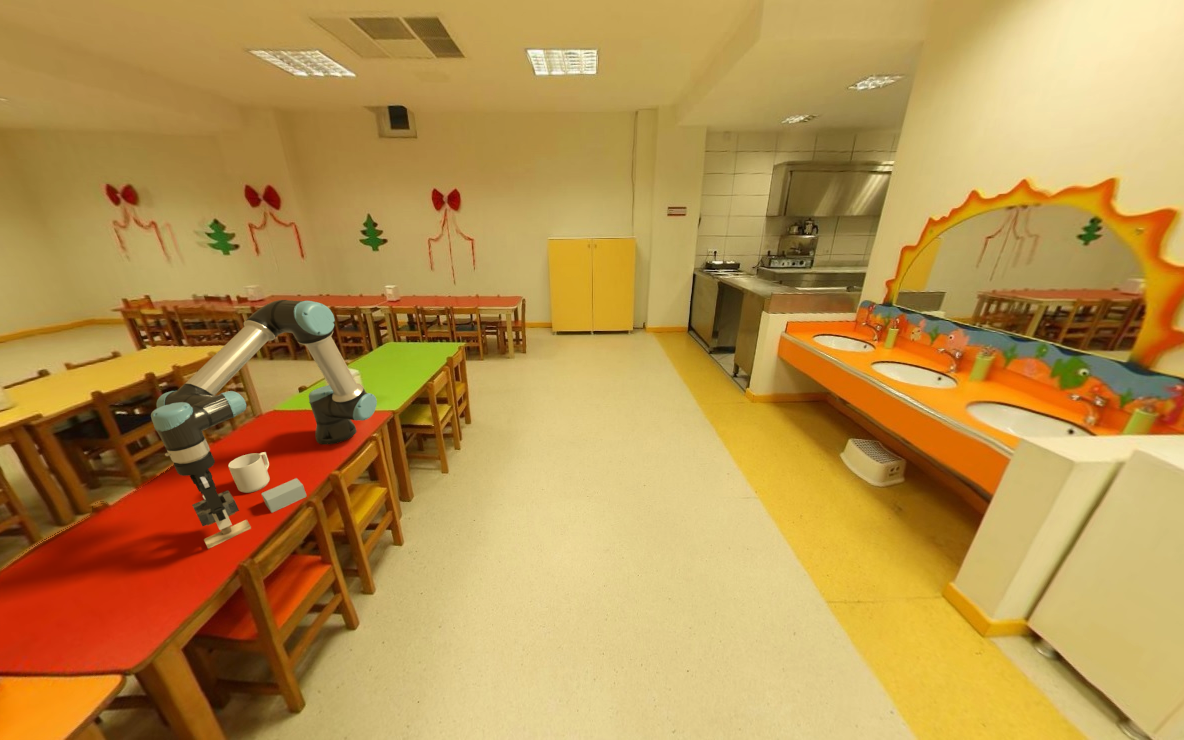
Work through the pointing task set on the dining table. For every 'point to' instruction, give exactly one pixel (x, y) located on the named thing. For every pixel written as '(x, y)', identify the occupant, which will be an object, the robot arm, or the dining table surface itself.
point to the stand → (227, 533)
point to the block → (284, 495)
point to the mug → (250, 472)
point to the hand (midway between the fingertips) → (221, 518)
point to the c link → (204, 509)
